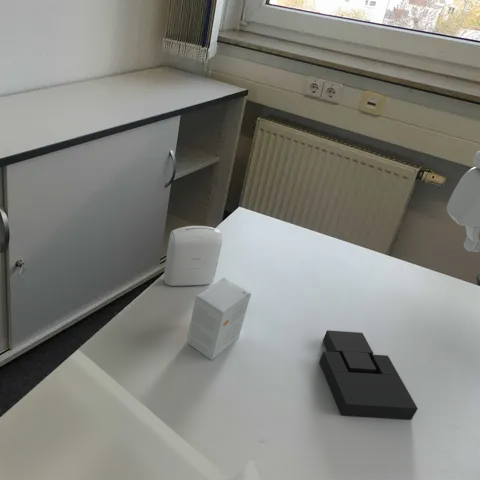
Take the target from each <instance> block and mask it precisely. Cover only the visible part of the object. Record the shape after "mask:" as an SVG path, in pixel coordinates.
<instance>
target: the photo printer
mask: <svg viewBox="0 0 480 480" xmlns="http://www.w3.org/2000/svg"><path fill="white" fill-rule="evenodd" d="M222 245H223V236H222V232H221V230H220V229H218V228H215V227H211V226H207V225H190V226H183V227H178V228H175V229H173V230H171V231H170V233H169V239H168V245H167V251H166V257H165V265H164V271H163V277H162V278H163V282H164V283H165V284H166V285H167V286H171V287H178V286H179V287H180V286H181V287H183V286H185V287H186V286H204V285H213V284H214V283H215V277H216V273H217V267H218V264H219V258H220V254H221V249H222Z"/></svg>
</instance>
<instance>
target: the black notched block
mask: <svg viewBox="0 0 480 480" xmlns="http://www.w3.org/2000/svg"><path fill="white" fill-rule="evenodd" d="M371 360H372V362H373V364H374V366H375V368H376V369H377V370H376V372H375V374H368V373H352V372H348V370H347V368H346V366H345V364H344V361H343V359H342V357H341V355H340V353H339V352H327V350H326V351H323V352H322V353H321V356H320V359H319V361H318V363H319V366H320V368H321V371H322V373H323V375H324V377H325V380H326V383H327V385H328V387H329V390H330V392H331V395H332V397H333V399H334V402H335V405H336V406H337V407H336V408H337V409H338V411H339V414H340V416H344V417H345V416H346V417H359V418H376V419H393V420H407V421H408V420H413V418H414V417H415V414H416V413H417V411H418V406H417V404H416V403H415V400H414V399H413V397H412V396H411V394H410V392H409V390H408V388H407V387H406V385H405V383H404V381H403V379H402V377H401V376H400V374H399V372H398V371H397V369H396V367H395V366H394V363H393V362H392V360H391V358H390V357H389V355H386V354H373V355H372V356H371Z"/></svg>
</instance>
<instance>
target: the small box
mask: <svg viewBox="0 0 480 480" xmlns="http://www.w3.org/2000/svg"><path fill="white" fill-rule="evenodd" d="M251 296H252V293H251V292H249V291H248V290H246V289H244V288H243V287H241V286H239V285H238V284H236V283H234V282H233V281H231V280H230V279H228V278H226V277H223V278H221V279H219V280H218V281H217V282H214V283H213V284H211V285H210V286H209V287H207V288H206V289H204V290H203V291H201V292H200V293H198V294H197V295H196V296H195V299H194V304H193V309H192V313H191V319H190V324H189V329H188V334H187V338H186V343H187V344H188V345H190V346H191V347H193V348H194V349H195V350H197V351H198V352H199V353H201V354H202V355H203V356H205V357H206V358H207V359H209V360H211V361H212V360H214V359H215V358H216V357H218V356H219V355H220V354H221V353H222V352H223V351H225V350H226V349H227V348H229V347H230V346H231V345H232V344H234V343H235V342H237V341H238V340H239V339H240V335H241V332H242V327H243V324H244V322H245V318H246V313H247V311H248V310H247V309H248V306H249V303H250V299H251Z"/></svg>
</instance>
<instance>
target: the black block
mask: <svg viewBox="0 0 480 480" xmlns="http://www.w3.org/2000/svg"><path fill="white" fill-rule="evenodd" d="M322 343H323V346H324V348H325V349H326V351H327V352H339V353H340V355H341V357H342V359H343V361H344V364H345V366H346V368H347V370H348V372H352V373H368V374H375V372H376V370H377V369H376V368H375V366H374V364H373V362H372V360H371V356H372V355H374V351H373V350H372V347H371V346H370V344H369V342H368V341H367V338H366V337H365V335H364V333H363V332H356V331H346V330H345V331H344V330H331V329H330V330H329V329H327V330H326V331H325V334H324V337H323V339H322Z"/></svg>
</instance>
